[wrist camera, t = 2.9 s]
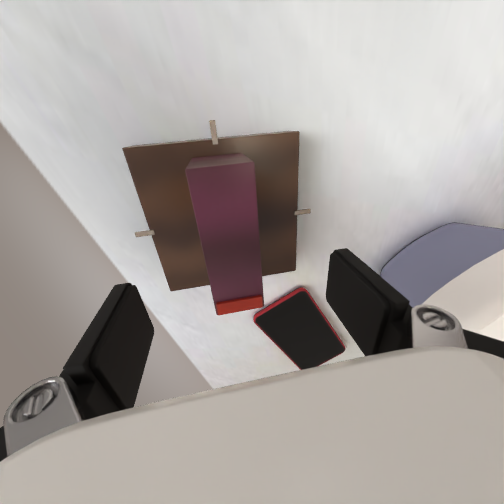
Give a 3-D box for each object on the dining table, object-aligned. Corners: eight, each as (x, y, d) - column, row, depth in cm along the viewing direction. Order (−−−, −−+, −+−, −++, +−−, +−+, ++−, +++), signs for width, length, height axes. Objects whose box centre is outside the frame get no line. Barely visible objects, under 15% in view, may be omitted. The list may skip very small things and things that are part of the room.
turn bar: (191, 157, 15) (184, 170, 11) (241, 152, 15) (255, 162, 11) (214, 275, 20) (216, 317, 16) (252, 269, 20) (264, 309, 16)
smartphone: (304, 287, 25) (347, 350, 32) (302, 282, 26) (344, 345, 33) (251, 319, 26) (304, 373, 33) (249, 314, 27) (302, 368, 34)
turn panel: (111, 130, 16) (95, 130, 13) (302, 113, 17) (316, 111, 15) (166, 286, 23) (161, 303, 20) (297, 264, 24) (306, 278, 22)
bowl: (474, 182, 23) (662, 220, 13) (487, 270, 30) (615, 335, 21) (348, 268, 26) (430, 350, 16) (387, 329, 33) (460, 411, 24)
